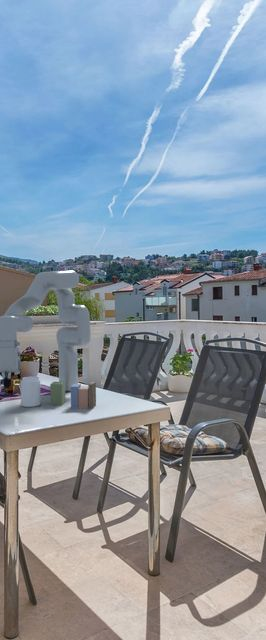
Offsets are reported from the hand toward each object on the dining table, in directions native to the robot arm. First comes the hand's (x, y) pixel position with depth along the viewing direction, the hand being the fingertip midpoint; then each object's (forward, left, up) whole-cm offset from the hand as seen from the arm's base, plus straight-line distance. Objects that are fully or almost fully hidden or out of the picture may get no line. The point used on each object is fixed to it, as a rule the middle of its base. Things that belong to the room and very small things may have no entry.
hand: (7, 387), depth 215 cm
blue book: (-1, +29, -8) cm, 30 cm away
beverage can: (-1, +10, -8) cm, 13 cm away
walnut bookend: (-1, +36, -8) cm, 37 cm away
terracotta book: (-1, +33, -8) cm, 34 cm away
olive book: (-6, +20, -8) cm, 23 cm away
